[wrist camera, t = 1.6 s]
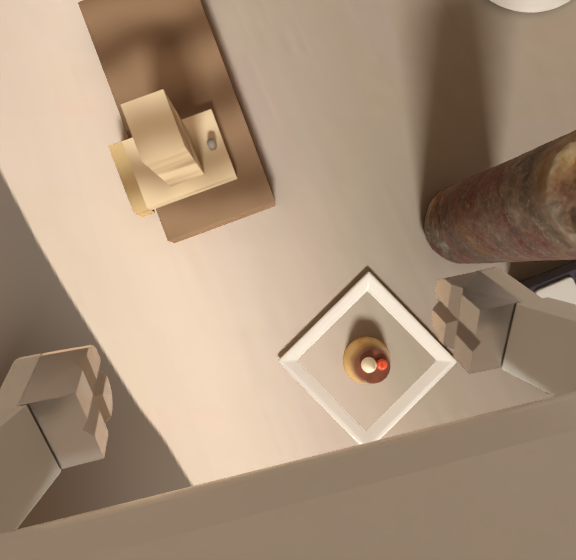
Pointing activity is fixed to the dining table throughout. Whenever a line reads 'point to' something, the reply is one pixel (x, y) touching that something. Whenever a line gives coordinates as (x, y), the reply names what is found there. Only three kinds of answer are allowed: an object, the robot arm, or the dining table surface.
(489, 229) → the candle
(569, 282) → the red and white box
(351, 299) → the dessert
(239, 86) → the dining table surface
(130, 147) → the stacked wooden blocks
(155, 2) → the board
